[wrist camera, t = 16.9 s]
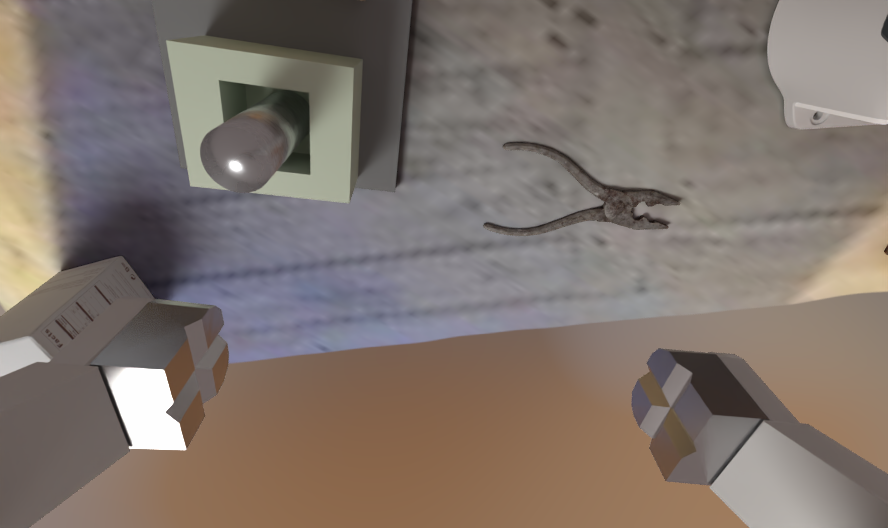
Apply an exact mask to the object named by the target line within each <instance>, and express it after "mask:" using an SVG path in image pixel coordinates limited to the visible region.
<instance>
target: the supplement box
mask: <svg viewBox="0 0 888 528" xmlns="http://www.w3.org/2000/svg"><path fill="white" fill-rule="evenodd" d="M125 296H132V297H141V298H150V299H155V298H154V297H153V296H152V294H151V293H150V291H149V290H148V289H147V288H146V286H145V285H144V283H143V282H142V281H141V279H140V278H139V277H138V275H137V274H136V273H135V271H134V270H133V269H132V268H131V266H130V265H129V264H128V262H127V261H126V260H125V259H124V257H123V256H118V257H114V258H110V259H106V260H102V261H98V262H95V263H91V264H87V265H84V266H80V267H76V268H72V269H69V270H65V271H61V272H58V273H57V274H56V275H55V276H53V277H52V278H51V279H49V280H48V281H47V282H45V283H44V284H43V285H41V286H40V287H39V288H38V289H36V290H35V291H34V292H32V293H31V294H30V295H28V296H27V297H26V298H24V299H23V300H22V301H20V302H19V303H18V304H16V305H15V306H14V307H12V308H11V309H10V310H8V311H7V312H6V313H4V314H3V315H2V316H0V377H2V376H4V375H6V374H9V373H11V372H14V371H16V370H18V369H21V368H23V367H25V366H28V365H30V364H33V363H35V362H49V361H50V360H51V359H52V358H54V357H55V356H56V355H57V354H58V353H59V352H60V351H61V350H62V349H63V348H64V347H65V346H67V345H68V344H69V343H70V342H71V341H72V340H73V339H74V338H75V337H76V336H77V335H78V334H80V333H81V332H82V331H83V330H84V329H85V328H86V327H87V326H88V325H89V324H90V323H91V322H92V321H94V320H95V319H96V318H97V317H98V316H99V315H100V314H101V313H102V312H103V311H104V310H105V309H107V308H108V307H109V306H110V305H111V304H112V303H113V302H114V301H115V300H116V299H118V298H122V297H125Z"/></svg>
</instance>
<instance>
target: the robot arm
mask: <svg viewBox="0 0 888 528" xmlns="http://www.w3.org/2000/svg"><path fill="white" fill-rule="evenodd" d="M767 55H768V64H769V68H770V72H771V75H772V77H773V79H774V82H775V83H776V85H777V86H778V88H779V90H780V91H781V93H782V95H783V98H784V115H785V121H786V124H787V125H788V126H789V127H790V128H795V129H816V128H831V127H845V126H860V125H874V124H884V125H886V124H888V0H779V2H778V5H777V7H776V10H775V12H774V15H773V19H772V22H771V26H770V31H769V36H768V47H767ZM816 112H817V113H816ZM815 113H816V115H815V116H814V114H815ZM813 116H814V117H813ZM223 325H224V321H223V316H222V311H221V309H220V308H218V307H217V306H213V305H205V304H196V303H188V302H179V301H171V300H162V299H150V298H141V297H132V296H125V297H122V298H118V299H116V300H115V301H114V302H113V303H112V304H111V305H110V306H109V307H108V308H107V309H105V310H104V311H103V312H102V313H101V314H100V315H99V316H98V317H97V318H96V319H95V320H94V321H92V322H91V323H90V324H89V325H88V326H87V327H86V328H85V329H84V330H83V331H82V332H81V333H80V334H78V335H77V336H76V337H75V338H74V339H73V340H72V341H71V342H70V343H69V344H68V345H67V346H65V347H64V348H63V349H62V350H61V351H60V352H59V353H58V354H57V355H56V356H55V357H54V358H52V359H51V360H50V361H49V362H35V363H33V364H30V365H28V366H25V367H23V368H21V369H18V370H16V371H14V372H11V373H9V374H6V375H4V376H2V377H0V528H29V527H31V526H32V525H33V524H34V523H36V522H37V521H38V520H40V519H41V518H43V517H44V516H45V515H46V514H48V513H49V512H50V511H52V510H53V509H54V508H56V507H57V506H58V505H60V504H61V503H62V502H63V501H65V500H66V499H68V498H69V497H70V496H71V495H73V494H74V493H75V492H77V491H78V490H79V489H81V488H82V487H83V486H85V485H86V484H87V483H89V482H90V481H91V480H93V479H94V478H95V477H97V476H98V475H99V474H100V473H102V472H103V471H105V470H106V469H107V468H109V467H110V466H111V465H112V464H114V463H115V462H116V461H117V460H119V459H120V458H122V457H123V456H124V455H126V454H127V453H128V452H129V451H130V448H145V449H171V450H172V449H173V450H186V449H187V447H188V446H189V444H190V442H191V440H192V439H193V437H194V435H195V433H196V432H197V430H198V428H199V426H200V424H201V423H202V421H203V419H204V417H205V413H204V408H203V403H205V402H206V401H208V400H210V399H211V398H213V397H214V396H216V395H217V394H218V392H219V390H220V388H221V386H222V384H223V382H224V379H225V375H226V372H227V368H228V361H229V351H228V344H227V342H226V341H225V340H224V339H223V338H222V337H221V336H220V335H219V334H218V333H219V332H220V330H221V328H222V327H223ZM647 365H648V368H649V371H650V372H649V373H647V374H646V375H644V376H643V377H641V378H639V379H638V381H637V383H636V385H635V387H634V389H633V391H632V410H633V414H634V417H635V419H636V421H637V424H638V426H639V428H640V429H642V430H643V431H644V432H645V433H646V434H647V435H649V436H650V437H651V438H652V440H651V444H650V447H649V449H650V450H651V453H652V455H653V457H654V459H655V461H656V463H657V465H658V467H659V469H660V471H661V473H662V475H663V477H664V479H665V481H668V482H679V483H690V484H700V485H711V486H710V489H711V490H712V491H713V492H714V493H715V494H716V495H717V496H718V497H719V498H720V499H721V500H722V501H723V502H724V503H725V504H726V505H727V506H728V507H729V508H730V509H731V510H732V511H733V512H734V513H735V514H736V515H737V516H738V517H739V518H740V519H741V520H742V521H743V522H744V523H745V524H746V525H747V526H748V527H749V528H888V474H887V473H885V472H884V471H882V470H881V469H879V468H877V467H876V466H874V465H873V464H871V463H869V462H868V461H866V460H865V459H863V458H861V457H860V456H858V455H857V454H855V453H853V452H852V451H850V450H849V449H847V448H846V447H844V446H842V445H840V444H839V443H838V442H836V441H834V440H833V439H831V438H829V437H828V436H826V435H825V434H823V433H821V432H820V431H818V430H817V429H815V428H814V427H812V426H810V425H809V424H802V423H799V422H798V420H797V419H796V418H795V417H794V416H793V415H792V414H791V412H790V411H789V410H788V409H787V408H786V407H785V406H784V405H783V403H782V402H781V401H780V400H779V399H778V398H777V397H776V395H775V394H774V393H773V392H772V391H771V390H770V389H769V388H768V386H767V385H766V384H765V383H764V382H763V381H762V380H761V378H760V377H759V376H758V375H757V374H756V373H755V372H754V371H753V369H752V368H751V367H750V366H749V365H748V364H747V363H746V362H745V360H744V359H742V358H740V357H739V356H737V355H735V354H726V353H713V352H709V353H705V352H694V351H683V350H682V351H681V350H672V349H661V348H659V349H658V350H656V351H655V352H654V353H652V355H651V356H650V358H649V360H648V362H647Z"/></svg>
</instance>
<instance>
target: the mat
mask: <svg viewBox="0 0 888 528" xmlns="http://www.w3.org/2000/svg"><path fill="white" fill-rule="evenodd" d="M151 1H152V7H153V12H154V18H155V24H156V29H157V35H158V41H159V47H160V52H161V58H162V64H163V69H164V75H165V81H166V86H167V92H168V98H169V103H170V109H171V115H172V120H173V126H174V132H175V138H176V143H177V149H178V155H179V160H180V166H181V168H185V169H187V163H186V157H185V151H184V145H183V139H182V133H181V127H180V121H179V115H178V109H177V103H176V97H175V91H174V85H173V79H172V73H171V67H170V61H169V55H168V50H167V44H166V40H172V39H180V38H188V37H196V36H204V35H206V36H213V37H219V38H226V39H233V40H239V41H246V42H253V43H259V44H266V45H272V46H279V47H286V48H292V49H299V50H306V51H312V52H319V53H326V54H332V55H339V56H346V57H352V58H359V59H363V69H362V92H361V116H360V139H359V163H358V179H357V182H356V185H355V188H362V189H371V190H380V191H389V192H395V187H396V176H397V165H398V154H399V143H400V131H401V120H402V109H403V98H404V87H405V76H406V65H407V54H408V43H409V32H410V21H411V10H412V0H365V1H361V0H151Z"/></svg>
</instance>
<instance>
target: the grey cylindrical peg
mask: <svg viewBox="0 0 888 528" xmlns="http://www.w3.org/2000/svg"><path fill="white" fill-rule="evenodd" d="M309 132H310V111H309V104H308V102H307V101H306V100H305V99H304V98H303V97H302V96H301V95H299V94H297V93H295V92H293V91H289V90H280V91H276V92H274V93H272V94H271V95H269V96H267V97H266V98H264V99H262V100H261V101H259V102H257V103H256V104H254V105H252V106H251V107H249V108H247V109H246V110H244V111H242V112H241V113H239V114H237V115H236V116H234V117H232V118H231V119H229V120H227V121H226V122H224V123H222V124H221V125H219V126H217V127H216V128H214V129H212V130H211V131H210V132H208V133H207V134H206V135H205V137H204V138H203V140H202V143H201V146H200V158H201V162H202V164H203V167H204V169H205V170H206V172H207V173H208V175H209V176H210V177H211V178H212V179H213V180H214V181H215V182H216V183H217V184H219V185H220V186H222V187H224V188H226V189H228V190H230V191H234V192H239V193H249V192H254V191H256V190H258V189H260V188H262V187H263V186H264V185H265V184H266V183H267V182H268V181H269V180H270V178H271V177H272V176H273V175H274V174H275V172H276V171H277V170H278V169H279V168H280V167H281V165H282V164H283V163H284V162H285V161H286V160H287V158H288V157H289V156H290V155H291V154H292V152H293V151H294V150H295V149H296V148H297V147H298V145H299V144H300V143H301V142H302V141H303V139H304V138H305V137H306V136H307V135H308V134H309Z"/></svg>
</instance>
